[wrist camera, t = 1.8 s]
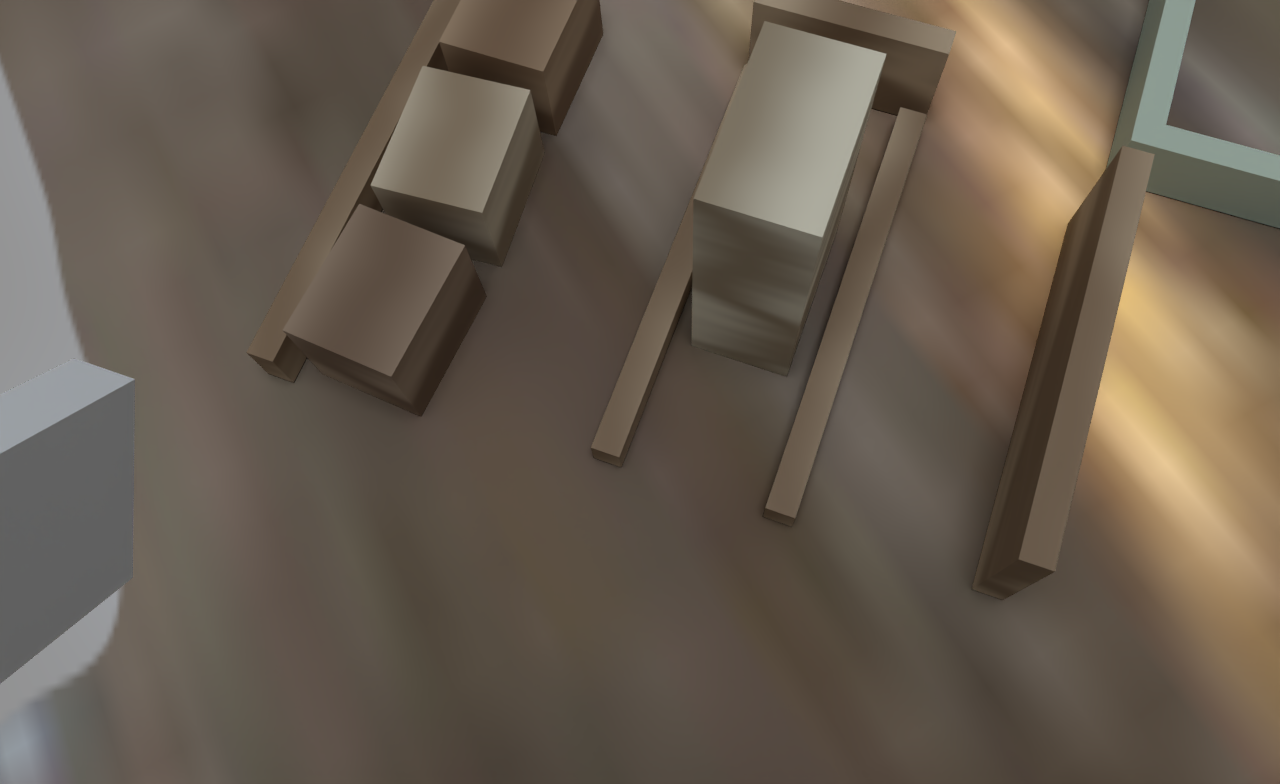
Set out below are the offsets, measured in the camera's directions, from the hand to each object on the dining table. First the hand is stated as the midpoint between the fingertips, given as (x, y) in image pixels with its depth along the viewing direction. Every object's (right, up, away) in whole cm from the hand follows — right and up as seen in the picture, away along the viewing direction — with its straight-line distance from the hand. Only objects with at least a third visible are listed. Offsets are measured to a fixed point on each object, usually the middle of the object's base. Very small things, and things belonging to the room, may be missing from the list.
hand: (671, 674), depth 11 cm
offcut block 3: (-9, +5, +26) cm, 28 cm away
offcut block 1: (-5, +16, +30) cm, 34 cm away
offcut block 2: (-7, +10, +28) cm, 31 cm away
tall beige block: (+4, +7, +26) cm, 27 cm away
